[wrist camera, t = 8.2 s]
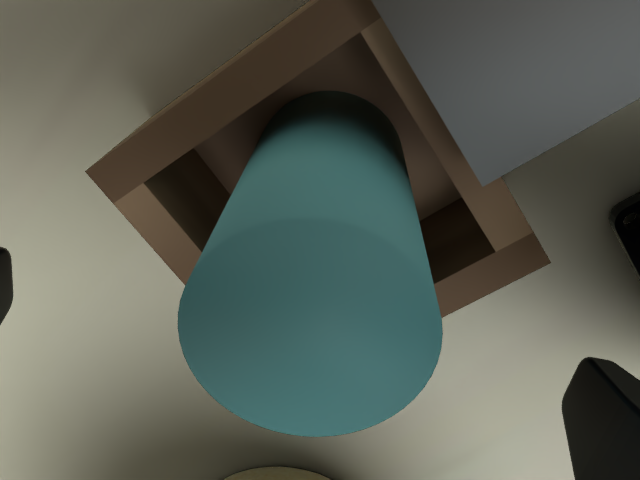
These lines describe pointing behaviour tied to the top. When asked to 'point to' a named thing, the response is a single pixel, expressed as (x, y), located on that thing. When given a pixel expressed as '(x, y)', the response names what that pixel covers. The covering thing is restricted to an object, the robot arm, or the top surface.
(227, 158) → the brown wooden open box
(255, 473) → the plant pot
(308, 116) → the peg
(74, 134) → the top surface
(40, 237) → the top surface
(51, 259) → the top surface
